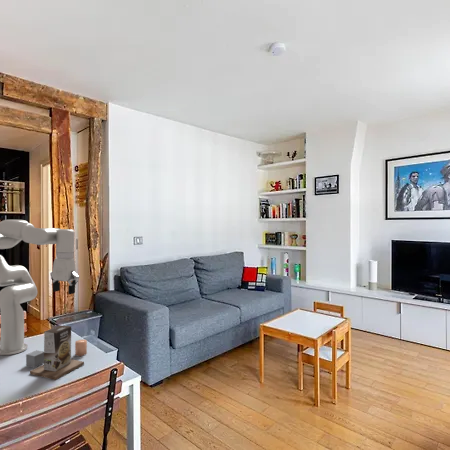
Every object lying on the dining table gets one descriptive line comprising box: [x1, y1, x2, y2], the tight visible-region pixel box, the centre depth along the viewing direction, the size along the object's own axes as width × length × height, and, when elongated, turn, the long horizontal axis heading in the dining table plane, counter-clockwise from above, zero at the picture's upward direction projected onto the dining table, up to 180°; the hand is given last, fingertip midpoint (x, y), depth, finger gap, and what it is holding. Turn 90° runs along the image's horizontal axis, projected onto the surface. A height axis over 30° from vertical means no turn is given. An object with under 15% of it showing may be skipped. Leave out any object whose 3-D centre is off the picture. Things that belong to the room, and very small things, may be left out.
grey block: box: [25, 349, 44, 369], centre depth 141 cm, size 5×5×5 cm
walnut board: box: [29, 358, 85, 381], centre depth 137 cm, size 14×15×1 cm
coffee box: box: [43, 325, 72, 371], centre depth 137 cm, size 9×6×16 cm
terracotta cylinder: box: [74, 339, 88, 357], centre depth 153 cm, size 5×5×6 cm
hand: (63, 292), depth 148 cm, fingers open, 9 cm apart
